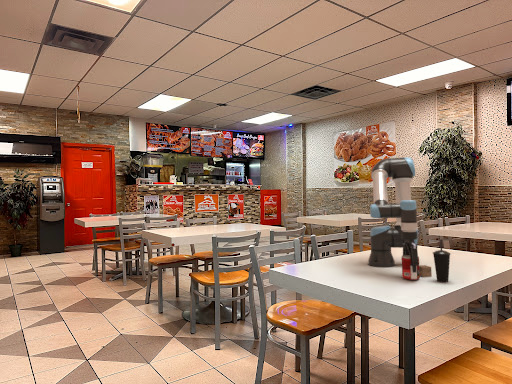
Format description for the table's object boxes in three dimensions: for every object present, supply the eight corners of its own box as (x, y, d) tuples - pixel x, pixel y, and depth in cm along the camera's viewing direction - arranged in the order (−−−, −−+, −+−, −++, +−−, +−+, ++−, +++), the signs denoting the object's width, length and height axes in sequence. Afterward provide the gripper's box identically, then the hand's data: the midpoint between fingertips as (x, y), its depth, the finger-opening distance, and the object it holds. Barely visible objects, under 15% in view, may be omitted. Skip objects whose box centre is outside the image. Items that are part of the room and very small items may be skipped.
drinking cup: (430, 280, 173) (428, 239, 174) (441, 278, 176) (440, 238, 176) (443, 283, 166) (441, 241, 166) (455, 282, 169) (453, 239, 169)
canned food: (421, 280, 173) (420, 257, 173) (404, 279, 174) (403, 257, 174) (417, 276, 180) (416, 254, 180) (400, 276, 182) (400, 254, 182)
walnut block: (416, 275, 185) (416, 265, 185) (425, 274, 186) (424, 265, 186) (422, 277, 180) (422, 267, 180) (431, 276, 181) (431, 266, 181)
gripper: (394, 229, 188) (396, 272, 188) (408, 233, 167) (410, 282, 167) (409, 228, 187) (411, 272, 187) (425, 233, 167) (427, 281, 167)
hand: (410, 276), depth 177 cm, fingers closed on canned food, 8 cm apart
